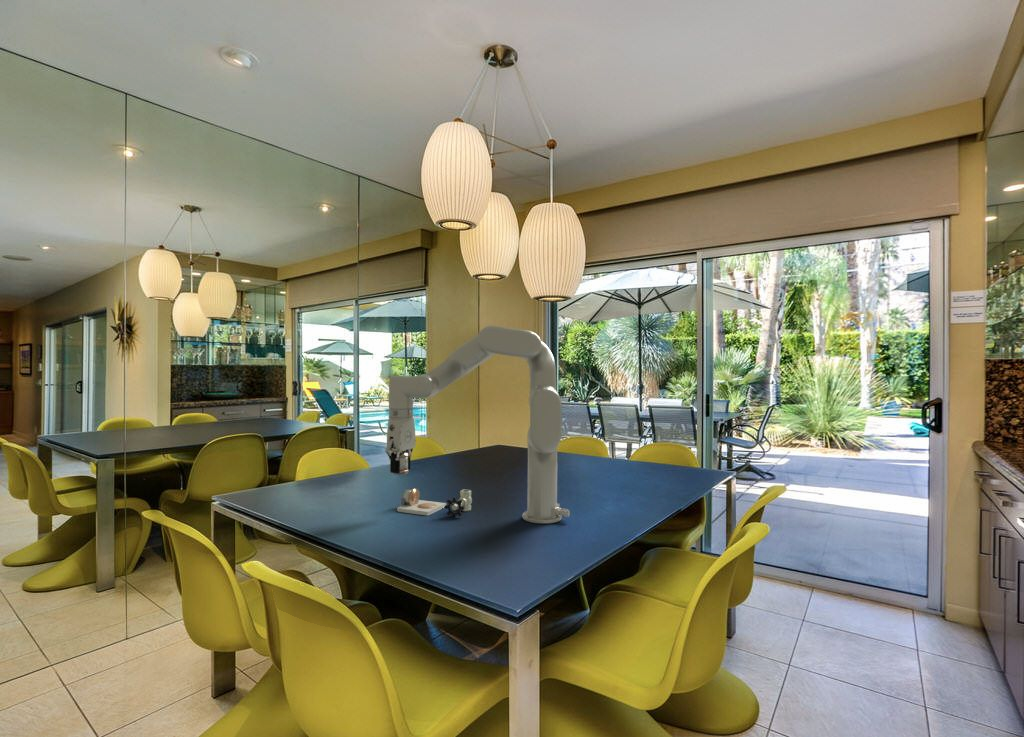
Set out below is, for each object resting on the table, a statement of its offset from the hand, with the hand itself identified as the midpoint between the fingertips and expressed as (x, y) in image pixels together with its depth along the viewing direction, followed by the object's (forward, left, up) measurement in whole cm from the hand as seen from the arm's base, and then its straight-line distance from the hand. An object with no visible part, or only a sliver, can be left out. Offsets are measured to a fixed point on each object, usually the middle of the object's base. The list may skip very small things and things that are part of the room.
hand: (400, 470), depth 160 cm
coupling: (0, 0, -1) cm, 1 cm away
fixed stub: (+4, -12, -15) cm, 20 cm away
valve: (-15, -13, -15) cm, 25 cm away
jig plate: (-1, -12, -15) cm, 19 cm away
